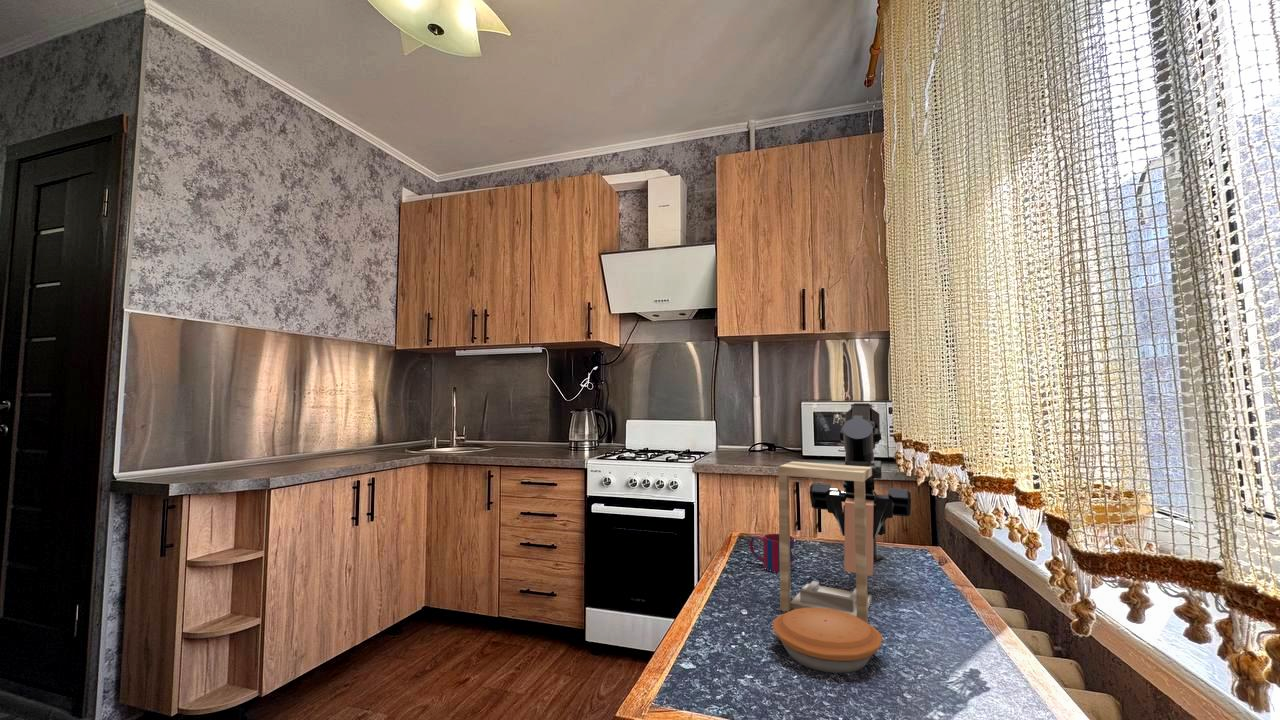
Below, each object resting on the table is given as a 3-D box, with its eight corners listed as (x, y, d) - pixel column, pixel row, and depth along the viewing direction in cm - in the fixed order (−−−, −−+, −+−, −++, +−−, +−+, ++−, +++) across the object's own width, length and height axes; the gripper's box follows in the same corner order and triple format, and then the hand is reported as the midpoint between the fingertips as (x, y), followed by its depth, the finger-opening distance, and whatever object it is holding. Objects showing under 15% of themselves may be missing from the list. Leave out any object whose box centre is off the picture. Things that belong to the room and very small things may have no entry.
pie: (786, 625, 92) (785, 594, 92) (886, 645, 85) (886, 612, 85) (760, 665, 78) (759, 629, 79) (877, 693, 71) (876, 653, 71)
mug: (786, 575, 117) (786, 543, 117) (744, 566, 123) (744, 535, 123) (799, 567, 122) (799, 536, 122) (758, 559, 128) (758, 529, 129)
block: (845, 563, 109) (846, 497, 110) (873, 567, 107) (873, 500, 107) (844, 571, 104) (844, 502, 105) (872, 575, 102) (873, 505, 103)
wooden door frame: (801, 587, 109) (799, 458, 111) (879, 601, 102) (876, 463, 103) (780, 610, 98) (778, 466, 99) (866, 628, 90) (863, 472, 92)
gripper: (809, 443, 114) (804, 507, 104) (909, 447, 107) (914, 516, 96) (814, 476, 121) (809, 539, 110) (908, 482, 114) (912, 550, 103)
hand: (858, 536), depth 105 cm, fingers closed on block, 5 cm apart
